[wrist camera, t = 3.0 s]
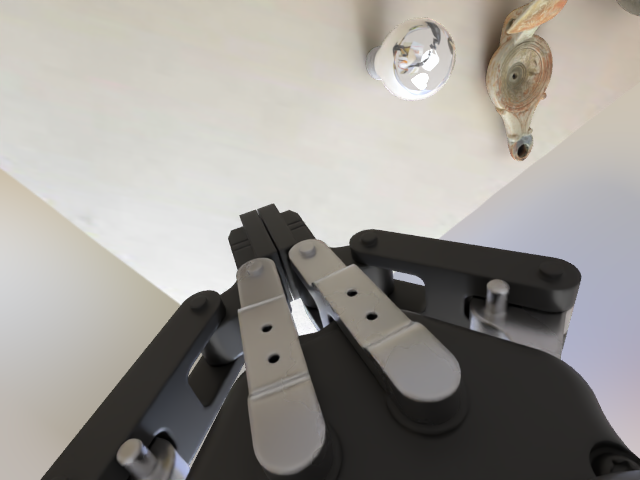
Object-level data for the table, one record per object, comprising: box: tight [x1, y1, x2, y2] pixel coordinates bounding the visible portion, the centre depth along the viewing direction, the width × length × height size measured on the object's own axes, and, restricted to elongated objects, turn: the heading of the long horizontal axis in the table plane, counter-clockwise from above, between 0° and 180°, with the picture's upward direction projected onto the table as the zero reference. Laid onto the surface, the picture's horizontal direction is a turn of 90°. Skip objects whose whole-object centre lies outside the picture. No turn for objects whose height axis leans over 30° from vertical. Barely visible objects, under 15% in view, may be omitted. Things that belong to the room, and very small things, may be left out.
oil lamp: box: [486, 0, 568, 161], centre depth 44 cm, size 9×21×10 cm, turn 17°
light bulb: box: [366, 18, 456, 101], centre depth 37 cm, size 7×7×12 cm
